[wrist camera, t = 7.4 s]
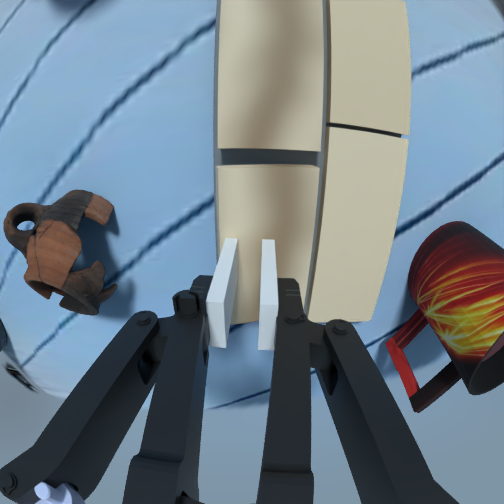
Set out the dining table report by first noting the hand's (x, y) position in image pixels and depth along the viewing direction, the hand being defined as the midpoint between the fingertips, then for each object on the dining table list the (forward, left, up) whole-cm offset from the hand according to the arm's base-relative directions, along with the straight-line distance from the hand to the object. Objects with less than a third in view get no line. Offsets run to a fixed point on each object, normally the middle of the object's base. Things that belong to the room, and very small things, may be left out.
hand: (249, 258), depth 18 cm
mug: (+19, -5, -4) cm, 20 cm away
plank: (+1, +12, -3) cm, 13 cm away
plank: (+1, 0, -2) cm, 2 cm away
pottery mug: (-16, 0, -4) cm, 16 cm away
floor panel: (+4, +6, -4) cm, 8 cm away
